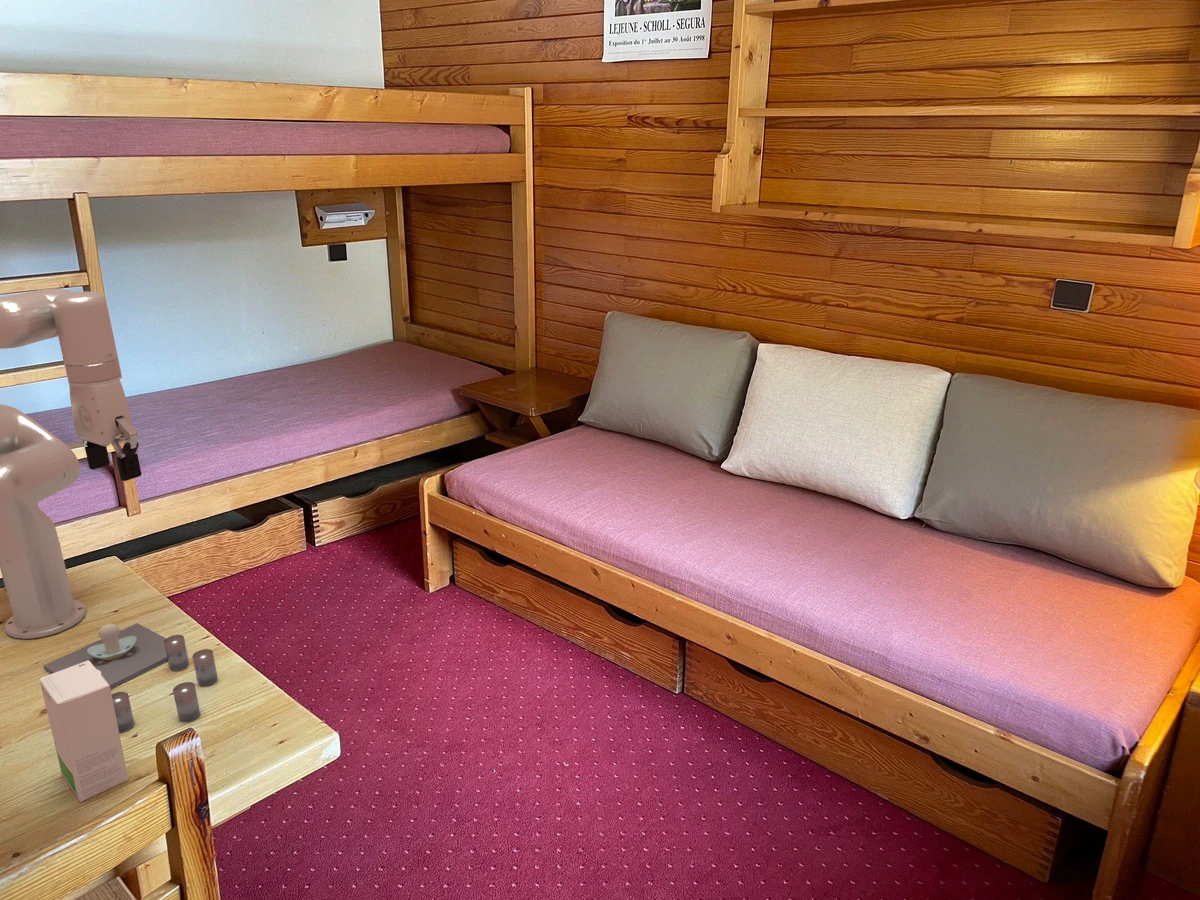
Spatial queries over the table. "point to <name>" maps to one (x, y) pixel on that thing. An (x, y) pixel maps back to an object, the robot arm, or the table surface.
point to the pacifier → (111, 644)
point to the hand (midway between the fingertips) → (115, 472)
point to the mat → (126, 667)
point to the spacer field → (182, 692)
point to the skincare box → (84, 729)
